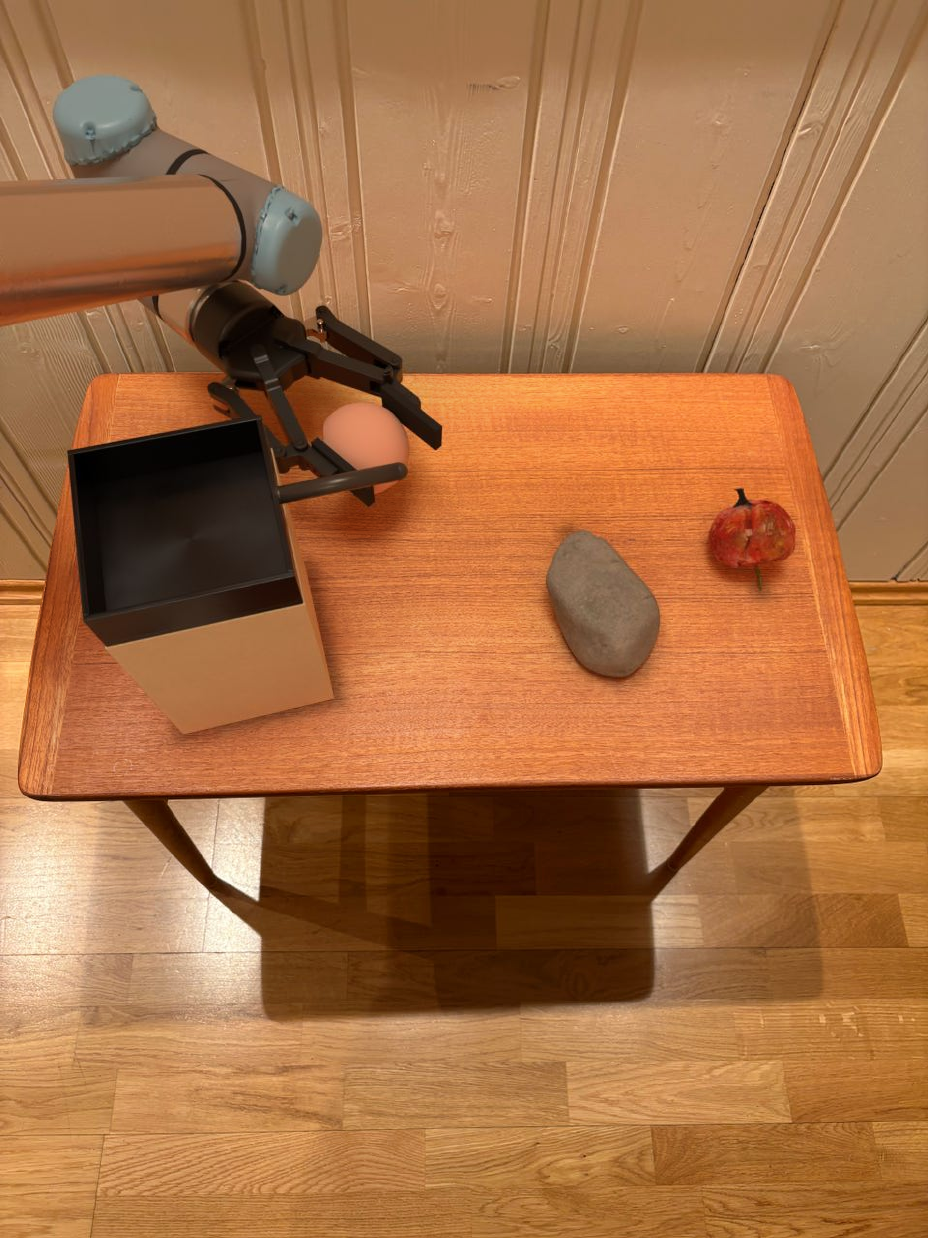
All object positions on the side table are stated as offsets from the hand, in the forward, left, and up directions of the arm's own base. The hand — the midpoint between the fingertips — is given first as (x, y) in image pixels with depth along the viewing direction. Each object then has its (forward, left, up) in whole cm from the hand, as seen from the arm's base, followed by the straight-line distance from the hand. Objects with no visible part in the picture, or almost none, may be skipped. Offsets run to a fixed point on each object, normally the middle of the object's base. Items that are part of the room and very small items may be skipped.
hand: (405, 466), depth 70 cm
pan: (-12, -8, +8) cm, 16 cm away
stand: (-17, -8, -11) cm, 22 cm away
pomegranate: (+30, -10, -12) cm, 34 cm away
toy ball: (-3, +4, -6) cm, 8 cm away
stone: (+14, -12, -12) cm, 22 cm away
